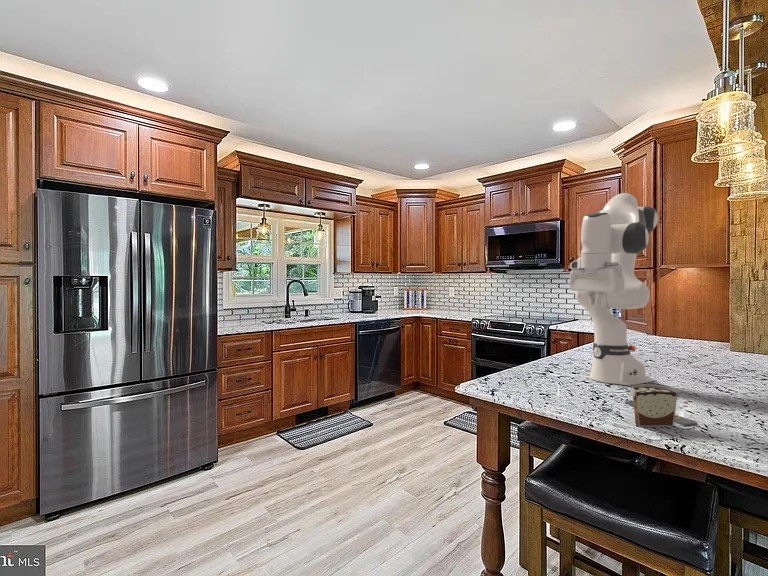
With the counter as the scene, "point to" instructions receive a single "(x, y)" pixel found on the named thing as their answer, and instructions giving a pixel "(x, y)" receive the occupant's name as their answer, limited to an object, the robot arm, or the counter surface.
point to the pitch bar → (677, 418)
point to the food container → (654, 405)
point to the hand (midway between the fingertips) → (595, 305)
